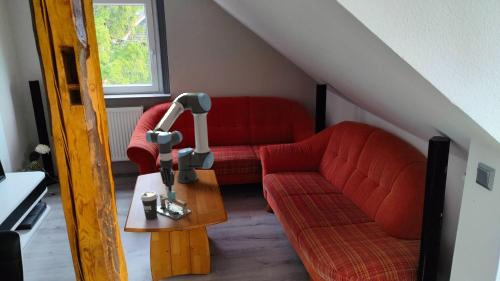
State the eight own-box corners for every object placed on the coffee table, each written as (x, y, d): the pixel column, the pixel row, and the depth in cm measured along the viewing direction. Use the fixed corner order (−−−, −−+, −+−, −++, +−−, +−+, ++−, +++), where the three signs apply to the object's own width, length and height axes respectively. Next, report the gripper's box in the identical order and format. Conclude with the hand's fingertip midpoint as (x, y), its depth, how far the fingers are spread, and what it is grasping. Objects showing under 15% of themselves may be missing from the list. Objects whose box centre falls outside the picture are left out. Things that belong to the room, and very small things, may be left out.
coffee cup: (144, 214, 221) (142, 191, 217) (160, 213, 222) (158, 190, 217) (141, 222, 212) (138, 198, 207) (158, 220, 212) (156, 197, 208)
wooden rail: (163, 203, 232) (162, 193, 231) (187, 212, 219) (186, 202, 217) (157, 206, 228) (156, 196, 227) (181, 216, 215) (180, 205, 214)
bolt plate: (167, 203, 235) (167, 201, 234) (191, 212, 222) (191, 210, 221) (152, 210, 226) (151, 208, 225) (176, 220, 213) (175, 218, 212)
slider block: (173, 206, 227) (172, 190, 224) (176, 207, 226) (175, 191, 223) (166, 209, 223) (164, 193, 220) (169, 210, 221) (168, 194, 218)
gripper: (154, 158, 219) (157, 194, 225) (168, 162, 211) (171, 200, 218) (164, 155, 225) (167, 190, 231) (178, 159, 217) (181, 195, 223)
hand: (169, 195), depth 224 cm, fingers closed
